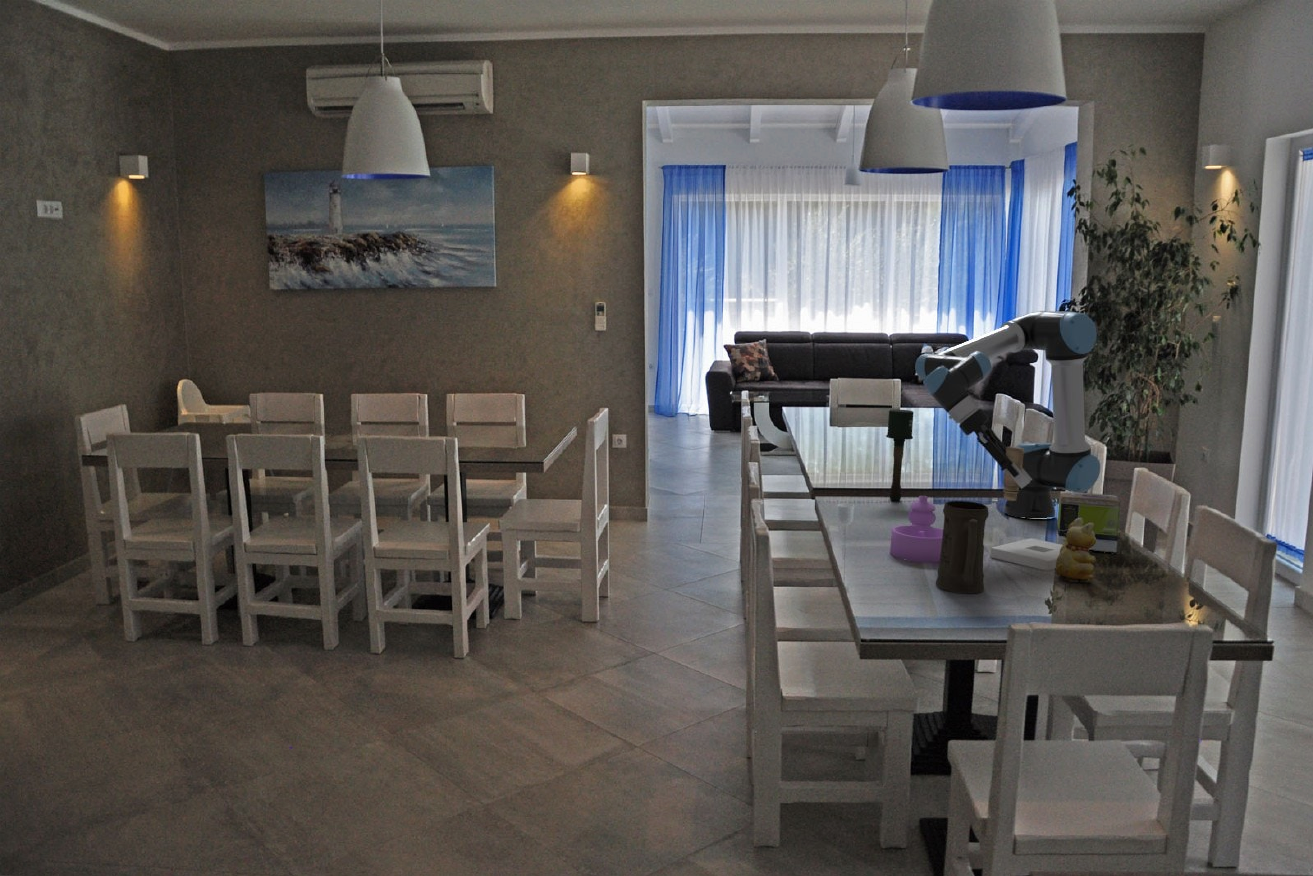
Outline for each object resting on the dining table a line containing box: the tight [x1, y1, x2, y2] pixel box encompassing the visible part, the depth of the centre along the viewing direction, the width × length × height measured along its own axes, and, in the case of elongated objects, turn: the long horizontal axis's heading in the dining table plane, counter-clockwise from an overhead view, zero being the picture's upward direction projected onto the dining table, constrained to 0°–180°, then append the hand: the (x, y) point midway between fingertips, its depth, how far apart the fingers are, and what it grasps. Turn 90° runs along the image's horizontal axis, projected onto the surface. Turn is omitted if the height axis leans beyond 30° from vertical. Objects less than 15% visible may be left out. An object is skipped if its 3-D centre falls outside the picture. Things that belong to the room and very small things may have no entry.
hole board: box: [989, 537, 1063, 571], centre depth 268 cm, size 20×16×2 cm
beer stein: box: [935, 500, 989, 595], centre depth 234 cm, size 15×11×20 cm
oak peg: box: [1002, 446, 1024, 501], centre depth 274 cm, size 4×4×14 cm
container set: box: [889, 495, 943, 564], centre depth 270 cm, size 25×15×13 cm, turn 166°
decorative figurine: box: [1055, 518, 1097, 583], centre depth 246 cm, size 10×8×15 cm
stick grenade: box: [885, 408, 915, 502], centre depth 338 cm, size 8×9×30 cm
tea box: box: [1056, 490, 1121, 552], centre depth 281 cm, size 15×10×15 cm
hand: (1026, 483), depth 273 cm, fingers closed on oak peg, 4 cm apart
